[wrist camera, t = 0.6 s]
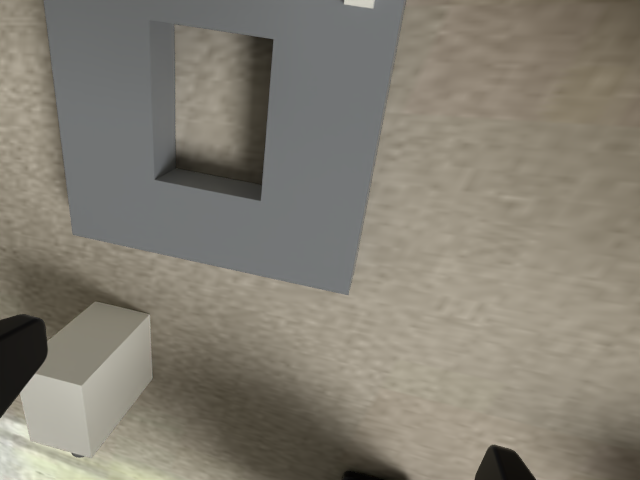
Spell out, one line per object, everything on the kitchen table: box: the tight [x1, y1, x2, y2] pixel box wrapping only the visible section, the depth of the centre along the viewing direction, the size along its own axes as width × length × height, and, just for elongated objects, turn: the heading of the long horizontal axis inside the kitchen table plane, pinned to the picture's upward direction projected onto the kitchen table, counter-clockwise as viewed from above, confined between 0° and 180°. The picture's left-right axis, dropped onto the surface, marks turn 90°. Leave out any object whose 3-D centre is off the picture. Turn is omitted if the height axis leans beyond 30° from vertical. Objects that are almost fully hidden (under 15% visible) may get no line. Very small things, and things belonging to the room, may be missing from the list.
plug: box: [20, 301, 153, 458], centre depth 25 cm, size 7×4×6 cm, turn 172°
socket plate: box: [44, 0, 406, 295], centre depth 19 cm, size 14×14×2 cm
